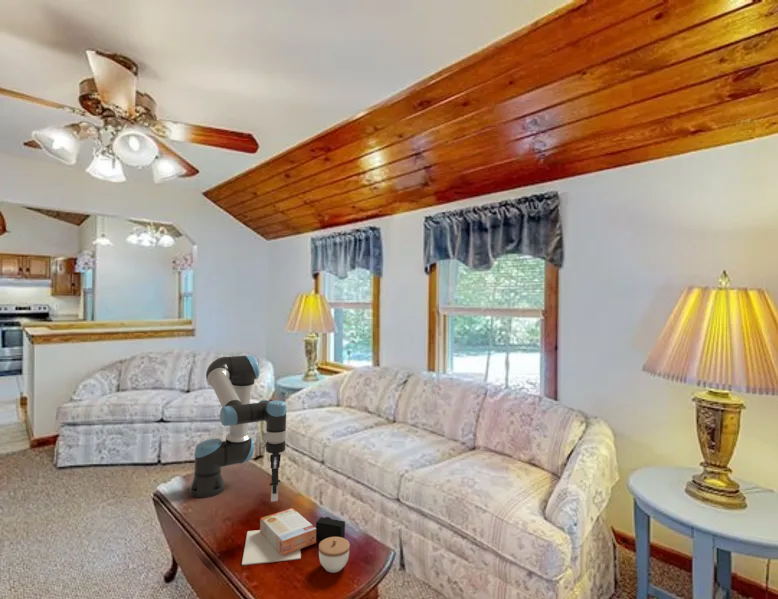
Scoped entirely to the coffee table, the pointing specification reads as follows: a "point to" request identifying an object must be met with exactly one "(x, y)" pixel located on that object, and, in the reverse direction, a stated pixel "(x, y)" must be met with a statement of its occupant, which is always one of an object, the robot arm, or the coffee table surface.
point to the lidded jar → (334, 553)
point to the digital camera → (329, 528)
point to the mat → (263, 550)
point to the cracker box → (287, 531)
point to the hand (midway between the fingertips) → (274, 500)
